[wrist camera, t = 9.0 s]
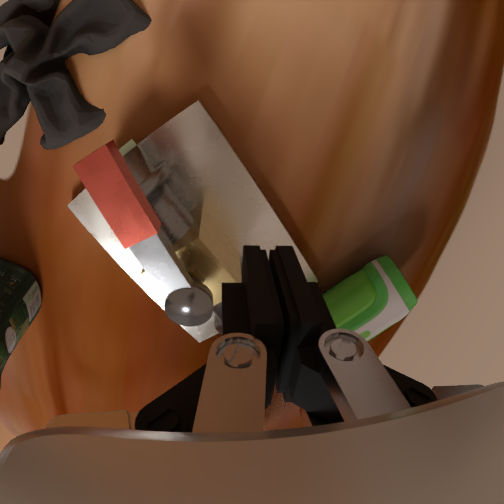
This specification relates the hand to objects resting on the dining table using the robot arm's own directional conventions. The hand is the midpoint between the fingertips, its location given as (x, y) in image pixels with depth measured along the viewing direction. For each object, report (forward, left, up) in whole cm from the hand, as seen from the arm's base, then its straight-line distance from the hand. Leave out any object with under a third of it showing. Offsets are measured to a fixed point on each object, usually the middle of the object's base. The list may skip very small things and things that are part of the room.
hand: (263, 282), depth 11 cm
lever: (0, +7, -12) cm, 14 cm away
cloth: (+20, +10, -20) cm, 30 cm away
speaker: (-21, 0, -19) cm, 29 cm away
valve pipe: (-5, +8, -19) cm, 21 cm away
